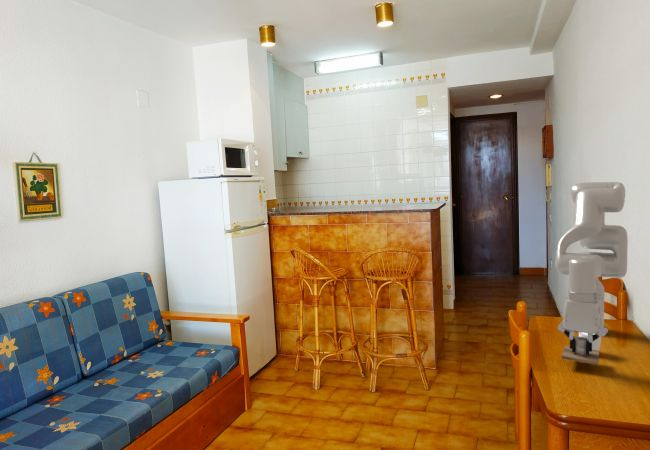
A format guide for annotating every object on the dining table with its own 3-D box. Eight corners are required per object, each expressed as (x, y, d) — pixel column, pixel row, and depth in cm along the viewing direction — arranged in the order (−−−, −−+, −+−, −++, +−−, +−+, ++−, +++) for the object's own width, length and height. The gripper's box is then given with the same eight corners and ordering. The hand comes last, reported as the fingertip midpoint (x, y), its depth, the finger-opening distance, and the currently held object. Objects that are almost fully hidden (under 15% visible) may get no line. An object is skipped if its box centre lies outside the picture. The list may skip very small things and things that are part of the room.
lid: (564, 347, 154) (564, 331, 154) (599, 353, 149) (599, 335, 148) (561, 358, 146) (562, 341, 145) (598, 364, 140) (598, 346, 140)
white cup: (604, 356, 155) (604, 336, 154) (582, 356, 156) (582, 336, 155) (596, 349, 161) (596, 330, 161) (575, 348, 163) (575, 329, 162)
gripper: (612, 296, 144) (611, 352, 146) (554, 291, 153) (553, 344, 155) (612, 302, 138) (610, 360, 140) (551, 296, 147) (551, 351, 148)
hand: (580, 351), depth 147 cm, fingers closed on lid, 3 cm apart
